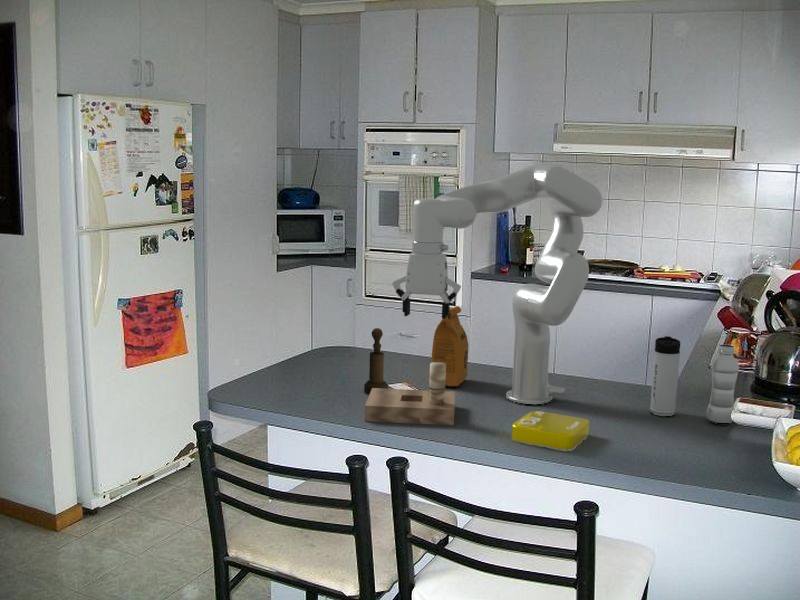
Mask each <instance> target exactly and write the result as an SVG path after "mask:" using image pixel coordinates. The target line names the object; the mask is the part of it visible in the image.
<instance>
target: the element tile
mask: <svg viewBox="0 0 800 600" xmlns="http://www.w3.org/2000/svg"><path fill="white" fill-rule="evenodd" d="M511 426H512V427H511V440H512V439H513V440H516V441H521V442H527V443H532V444H538V445H544V446H549V447H554V448H558V449H566V450H568V449H573V448H574V447H575V446H577V445H578V444H579V443H580V442H581V441H582V440H583V439H584V438H585V437H587V436H588V434H589V433H590V421H589V420H588V419H586V418H582V417H577V416H570V415H565V414H560V413H553V412H547V411H542V410H536V409H535V410H532V411H529V412H527V413H526V414H525V415H524V416H521V418H519V419H517V420H516V421H515V422H513V423H512V425H511Z"/></svg>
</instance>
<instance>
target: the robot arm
mask: <svg viewBox="0 0 800 600" xmlns="http://www.w3.org/2000/svg"><path fill="white" fill-rule="evenodd" d="M539 198H545V199H546V198H547V202H548V206H549V208H550V211H551V214H552V215H551V216H552V220H553V222H552V223H553V224H552V229H551V232H550V234H549V237H548V238H547V241H546V243H545V245H544V247H543V248H542V250H541V252H540V254H539V256H538V258H537V259H536V263H535V265H534V274H535V276H536V277H537V279H539V280H540V281H541V282H544V283H546V284H550V285H549V287H548V286H545V285H542V284H537V283H526V284H523V285H521V286H519V287H518V288H516V291H515V292H514V294H513V297H512V313H513V320H514V321H513V322H514V336H513V337H514V339H513V340H514V341H513V342H514V343H513V361H512V379H511V380H512V383H511V390H508V391H506V394H505V398H506V399H507V400H508V399H509V400H508V401H510V400H511V401H510V402H512V401H513V402H512V403H515V402H518V403H517V404H519V403H526V404H542V403H547V402H550V401H551V400H552V399H553V395H559V396H565V393H566V392H565V391H566V390H565V389H566V388H565V387H560V386H557V385H550V384H549V366H550V365H549V363H550V348H551V346H550V345H551V332H550V330H551V329H550V326H551V327H552V326H553V327H556V326H560V325H561V324H563V323H565V322H566V321H567V320H568V318H570V316H571V314H572V312H573V310H574V309H575V306H576V304H578V303H577V302H578V300H579V298H580V296H581V295H582V293H583V291H584V289H585V286H586V285H587V282H588V279H589V277H590V276H589V275H590V266H589V263H588V260H587V259H586V257H585V256H583V255H582V254H581V253H579V252H578V251H579V249H580V247H581V244H582V241H583V238H584V224H583V219H582V218H590V217H593V216H595V215H596V214H598V212H599V211H600V209H601V208H602V205H603V196H602V193H601V191H600V189H599V188H598V187H597V186H595V185H594V184H592V183H591V182H590V181H588V180H586V179H584V178H582V177H581V176H579V175H578V174H576V173H574V172H573V171H571V170H569V169H568V168H566V167H563V166H561V165H557V164H544V163H542V164H539V163H538V164H533V165H528V166H526V167H524V168H521V169H519V170H516V171H513V172H511V173H508V174H506V175H503V176H500V177H497V178H494V179H490V180H486V181H483V182H479V183H475V184H472V185H467V186H464V187H461V188H457V189H454V190H451V191H449V192H447V193H443V194H441V195H439V196H437V197H436V198H431V197H429V198H427V197H426V198H425V197H423V198H417V199H415V201H414V202H413V207H412V250H411V252H410V253H409V256H408V260H407V266H406V275H404V276H403V277H400V278H399V279H396V280H394V281H393V282H391V283H392V286H393V289H394V290H395V293H396V294H397V296H399V298H400V299H401V301H402V310H401V311H402V313H403V316H404V317H408V316H410V314H411V299H410V296H411V295H412V294H415V295H427V296H439V297H440V298H441V300H442V301H443V303H442V304H441V305H442V307H441V319H445V318H447V315H449V309H451V308H450V307H451V305H450V304H451V303H450V302H451V301H452V300H453V299H455V298H456V297H457V296H458V294H459V292H460V291H461V288H462V286H461V284H459V283H457V282H456V281H454V280H452V279H451V278H449V273H448V260H447V259H448V258H447V254H445V253H444V252H446V251H449V245H448V244H445V243H444V228H451V229H452V228H453V229H458V230H459V229H466V228H469V227H470V226H472V225H473V224H474V222H475V221H476V220H477V217H478V214H481V213H498V212H506V211H509V210H511V209H514V208H516V207H518V206H521V205H523V204H526V203H529V202H532V201H535V200H537V199H539ZM403 283H405V291H404V290H403V289H402V288H401V284H403ZM449 287H451V288H453V290H452V293H450V294H449V293H448V292H447V291H448V289H449ZM552 401H553V400H552ZM552 401H551V402H552ZM551 402H550V403H551ZM547 404H548V403H547ZM542 405H543V404H542Z"/></svg>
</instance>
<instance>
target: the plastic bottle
mask: <svg viewBox="0 0 800 600" xmlns="http://www.w3.org/2000/svg"><path fill="white" fill-rule="evenodd" d="M717 353H718V355H717V356H716V358H715V359H714V360H713V361H712V363H711V369H710V370H711V393H710V398H709V404H708V406H707V408H706V409H707V410H706V417H707V419H709V420H710V421H713V422H718V423H730V424H731V423H732V422H733V421H732V419H731V413H732V411H733V410H734V411H735V406H734V405H735V404H734V401H735V399H734V398H735V397H734V396H735V388H736V382H737V379H738V374H739V371H740V366H739V363H738V361H737V359H736V358H735V357H734V355H735V346H734V345H732V344H719V346H718V350H717ZM709 420H708V421H709ZM710 421H709V422H710ZM713 422H712V423H713Z"/></svg>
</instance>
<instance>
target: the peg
mask: <svg viewBox="0 0 800 600" xmlns="http://www.w3.org/2000/svg"><path fill="white" fill-rule="evenodd" d="M445 380H446V364H445V363H441V362H433V363H432V362H430V364H429V381H428V382H429V384H428V390H429V392H430V403H431V404H433V405H441V404H443V402H444V392H445V391H446V386H445Z"/></svg>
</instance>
